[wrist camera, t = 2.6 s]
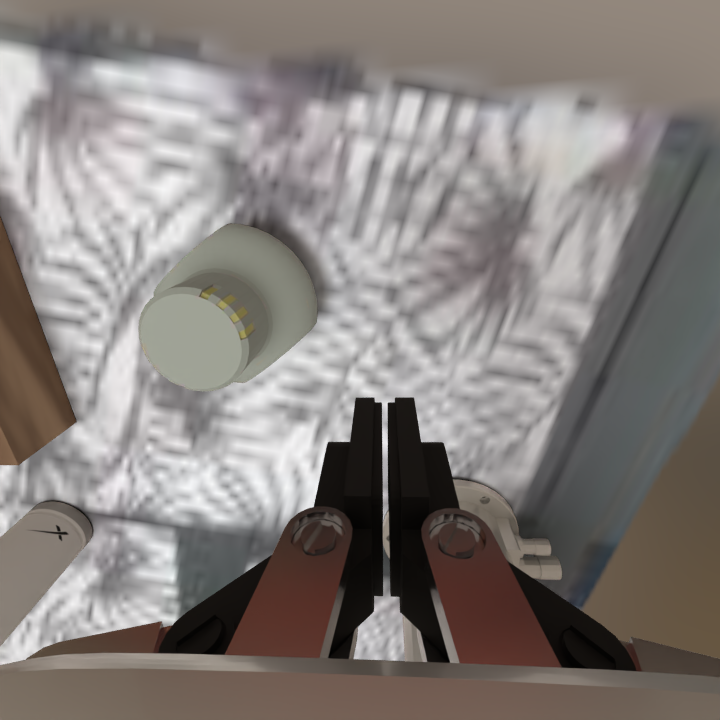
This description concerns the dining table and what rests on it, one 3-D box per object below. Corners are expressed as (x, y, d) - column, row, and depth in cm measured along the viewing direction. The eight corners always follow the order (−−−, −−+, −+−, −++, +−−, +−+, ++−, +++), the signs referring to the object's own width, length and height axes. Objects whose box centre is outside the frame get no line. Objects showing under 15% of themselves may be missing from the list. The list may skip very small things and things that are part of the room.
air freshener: (240, 376, 32) (183, 449, 23) (163, 298, 30) (65, 345, 20) (341, 295, 29) (322, 342, 20) (264, 202, 26) (202, 206, 17)
